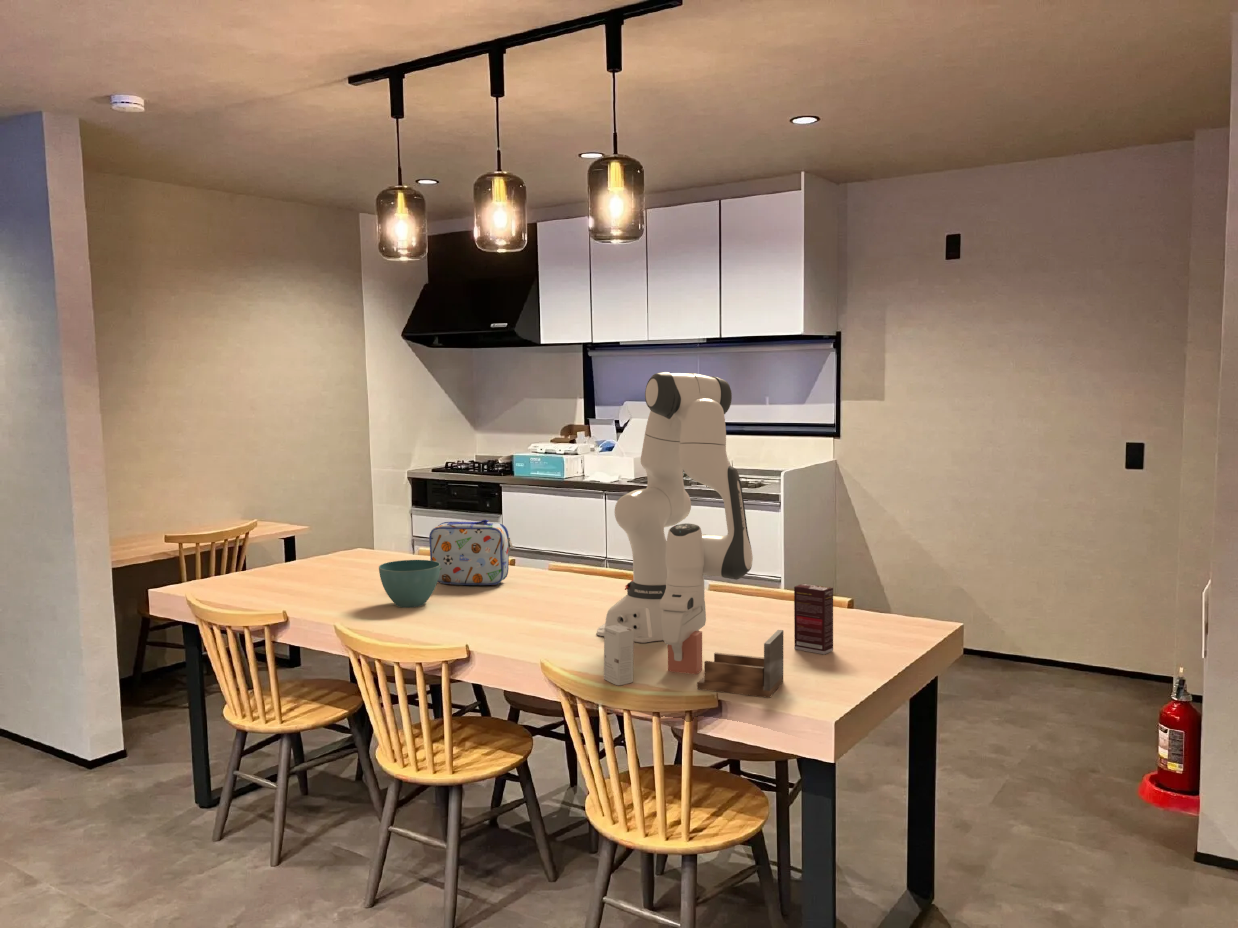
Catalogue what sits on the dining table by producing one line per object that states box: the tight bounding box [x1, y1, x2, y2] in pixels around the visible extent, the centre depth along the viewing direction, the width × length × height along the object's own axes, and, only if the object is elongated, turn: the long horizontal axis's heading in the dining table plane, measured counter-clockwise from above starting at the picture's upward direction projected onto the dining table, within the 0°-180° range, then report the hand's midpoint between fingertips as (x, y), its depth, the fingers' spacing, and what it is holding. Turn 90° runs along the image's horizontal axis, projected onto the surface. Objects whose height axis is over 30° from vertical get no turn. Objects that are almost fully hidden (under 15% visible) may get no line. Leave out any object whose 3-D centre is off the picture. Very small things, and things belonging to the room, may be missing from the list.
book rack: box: [696, 629, 784, 699], centre depth 208 cm, size 16×12×12 cm
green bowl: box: [378, 559, 440, 609], centre depth 289 cm, size 18×18×12 cm
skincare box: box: [603, 624, 635, 686], centre depth 212 cm, size 6×4×12 cm
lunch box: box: [428, 519, 514, 586], centre depth 318 cm, size 28×10×22 cm, turn 82°
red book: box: [667, 630, 703, 675], centre depth 219 cm, size 7×4×9 cm, turn 67°
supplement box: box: [793, 583, 834, 655], centre depth 234 cm, size 9×5×16 cm, turn 50°
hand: (685, 654), depth 219 cm, fingers open, 8 cm apart
